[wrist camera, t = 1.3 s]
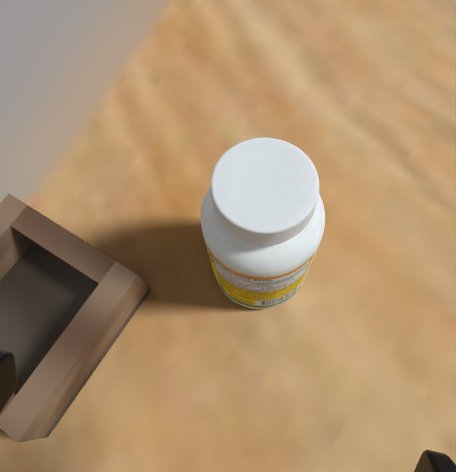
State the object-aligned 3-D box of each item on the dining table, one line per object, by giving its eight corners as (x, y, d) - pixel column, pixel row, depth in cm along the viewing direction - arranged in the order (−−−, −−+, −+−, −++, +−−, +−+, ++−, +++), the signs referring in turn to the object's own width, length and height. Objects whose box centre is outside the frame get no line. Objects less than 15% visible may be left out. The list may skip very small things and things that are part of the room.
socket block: (47, 436, 21) (17, 442, 18) (-72, 341, 23) (-116, 333, 21) (151, 289, 24) (137, 274, 21) (35, 215, 26) (9, 193, 23)
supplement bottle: (281, 327, 23) (301, 279, 14) (195, 284, 24) (163, 214, 15) (320, 244, 24) (361, 153, 15) (239, 207, 25) (232, 103, 17)
